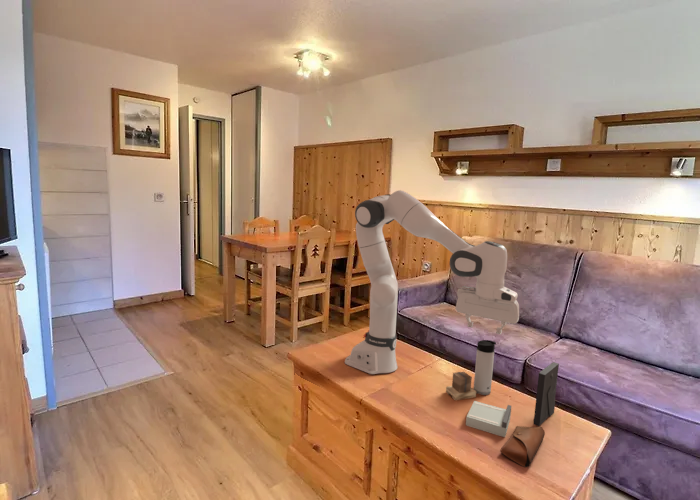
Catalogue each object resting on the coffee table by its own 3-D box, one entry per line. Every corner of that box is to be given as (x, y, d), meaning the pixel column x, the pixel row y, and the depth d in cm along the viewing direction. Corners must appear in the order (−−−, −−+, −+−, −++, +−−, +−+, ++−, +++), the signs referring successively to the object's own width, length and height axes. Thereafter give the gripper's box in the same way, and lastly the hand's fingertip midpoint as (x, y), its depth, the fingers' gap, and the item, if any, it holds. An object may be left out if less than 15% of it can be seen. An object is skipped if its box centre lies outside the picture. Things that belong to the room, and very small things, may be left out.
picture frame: (547, 409, 139) (553, 361, 137) (554, 412, 137) (560, 364, 135) (533, 423, 130) (538, 372, 127) (540, 426, 128) (546, 375, 126)
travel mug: (492, 396, 147) (497, 345, 144) (474, 394, 148) (478, 343, 146) (490, 388, 153) (494, 339, 150) (472, 386, 154) (476, 337, 152)
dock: (465, 425, 127) (466, 411, 127) (473, 408, 138) (474, 395, 137) (505, 437, 122) (506, 422, 121) (510, 419, 132) (511, 405, 131)
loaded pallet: (454, 400, 143) (456, 379, 142) (445, 392, 149) (447, 372, 148) (475, 397, 146) (477, 377, 145) (466, 389, 152) (467, 370, 151)
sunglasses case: (515, 424, 126) (530, 413, 123) (533, 443, 124) (548, 432, 120) (498, 451, 112) (514, 440, 109) (517, 474, 109) (534, 463, 106)
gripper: (455, 286, 134) (451, 325, 136) (520, 298, 124) (514, 339, 126) (460, 283, 139) (456, 321, 141) (522, 294, 129) (517, 334, 131)
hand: (484, 330), depth 133 cm, fingers open, 8 cm apart
